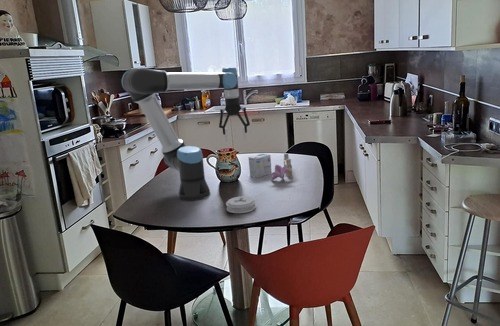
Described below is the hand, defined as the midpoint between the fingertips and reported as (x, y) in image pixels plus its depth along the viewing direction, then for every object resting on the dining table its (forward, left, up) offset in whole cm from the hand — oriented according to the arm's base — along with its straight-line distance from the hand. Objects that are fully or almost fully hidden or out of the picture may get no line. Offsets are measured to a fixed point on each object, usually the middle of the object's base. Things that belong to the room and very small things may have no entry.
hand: (235, 139), depth 229 cm
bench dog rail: (0, -27, -20) cm, 34 cm away
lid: (-53, -2, -21) cm, 57 cm away
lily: (-16, -22, -21) cm, 34 cm away
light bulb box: (0, -12, -21) cm, 24 cm away
